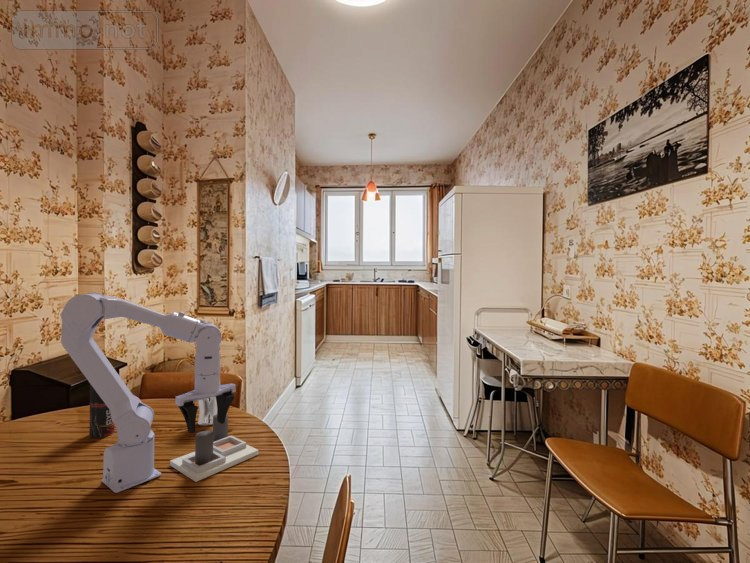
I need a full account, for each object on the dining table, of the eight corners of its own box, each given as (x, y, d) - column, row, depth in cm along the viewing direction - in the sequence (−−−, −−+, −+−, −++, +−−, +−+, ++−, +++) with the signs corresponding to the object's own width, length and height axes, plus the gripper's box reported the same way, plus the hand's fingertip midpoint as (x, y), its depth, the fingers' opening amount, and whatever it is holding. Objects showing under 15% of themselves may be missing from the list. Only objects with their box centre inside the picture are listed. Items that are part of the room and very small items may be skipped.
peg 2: (217, 444, 104) (218, 419, 104) (209, 440, 107) (210, 416, 107) (230, 439, 108) (231, 415, 108) (222, 436, 110) (223, 412, 110)
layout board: (195, 482, 85) (195, 471, 85) (170, 465, 93) (170, 455, 93) (258, 454, 99) (258, 445, 99) (232, 441, 106) (232, 433, 106)
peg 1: (199, 468, 89) (200, 439, 89) (192, 462, 92) (192, 434, 91) (215, 462, 92) (216, 434, 92) (208, 456, 95) (208, 429, 94)
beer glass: (203, 428, 115) (204, 379, 115) (191, 422, 119) (192, 375, 119) (224, 421, 121) (225, 375, 120) (212, 416, 125) (213, 371, 125)
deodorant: (104, 438, 106) (105, 385, 106) (83, 437, 107) (84, 385, 106) (119, 430, 112) (120, 380, 112) (99, 429, 112) (100, 379, 112)
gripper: (225, 364, 101) (224, 414, 101) (169, 375, 90) (168, 432, 90) (240, 369, 97) (239, 421, 97) (184, 380, 85) (183, 440, 85)
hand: (206, 427), depth 93 cm, fingers open, 7 cm apart
